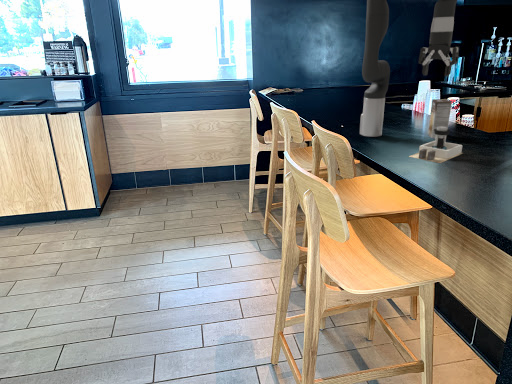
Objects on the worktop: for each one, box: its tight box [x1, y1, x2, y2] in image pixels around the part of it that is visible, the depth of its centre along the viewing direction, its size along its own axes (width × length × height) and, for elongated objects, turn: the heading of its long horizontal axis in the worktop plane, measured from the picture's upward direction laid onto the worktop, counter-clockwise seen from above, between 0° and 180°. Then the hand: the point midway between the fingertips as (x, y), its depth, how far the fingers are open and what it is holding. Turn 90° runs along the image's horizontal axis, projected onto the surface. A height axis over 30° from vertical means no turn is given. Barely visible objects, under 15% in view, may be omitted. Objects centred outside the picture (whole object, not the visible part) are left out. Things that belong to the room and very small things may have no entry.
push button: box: [432, 126, 451, 150], centre depth 143 cm, size 7×5×10 cm
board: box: [408, 149, 464, 164], centre depth 143 cm, size 12×18×4 cm, turn 130°
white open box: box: [418, 140, 463, 159], centre depth 145 cm, size 11×12×3 cm
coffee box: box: [427, 98, 453, 139], centre depth 172 cm, size 9×6×16 cm
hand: (435, 75), depth 150 cm, fingers open, 8 cm apart
